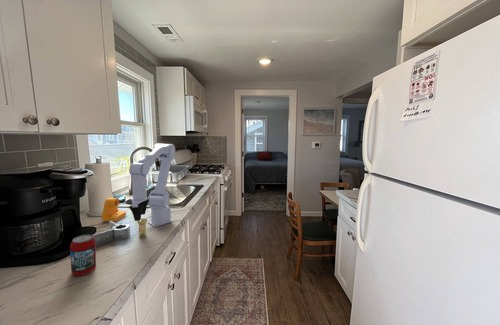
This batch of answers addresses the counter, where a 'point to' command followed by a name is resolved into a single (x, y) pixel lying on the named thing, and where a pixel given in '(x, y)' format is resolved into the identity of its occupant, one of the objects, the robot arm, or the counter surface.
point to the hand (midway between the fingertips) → (140, 217)
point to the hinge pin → (142, 228)
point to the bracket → (112, 210)
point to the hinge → (112, 233)
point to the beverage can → (83, 255)
